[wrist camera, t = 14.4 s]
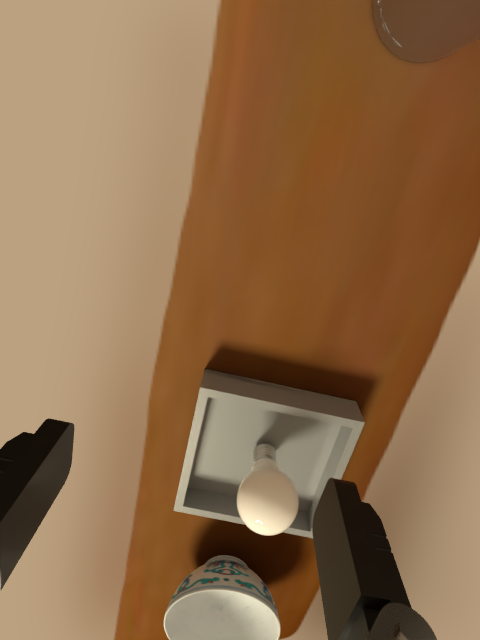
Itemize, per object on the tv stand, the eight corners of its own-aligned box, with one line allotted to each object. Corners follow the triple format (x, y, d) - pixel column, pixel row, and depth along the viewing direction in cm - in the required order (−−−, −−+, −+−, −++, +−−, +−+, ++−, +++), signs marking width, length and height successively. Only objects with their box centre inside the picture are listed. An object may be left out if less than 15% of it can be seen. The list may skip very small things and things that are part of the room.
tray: (204, 368, 45) (200, 387, 42) (356, 401, 46) (364, 422, 42) (179, 485, 52) (173, 510, 48) (311, 512, 53) (315, 538, 49)
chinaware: (159, 583, 60) (146, 641, 52) (200, 519, 54) (192, 574, 47) (248, 616, 62) (247, 676, 54) (296, 557, 56) (302, 615, 49)
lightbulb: (236, 467, 49) (234, 548, 39) (239, 425, 47) (238, 500, 36) (287, 470, 49) (298, 552, 39) (293, 428, 47) (306, 504, 37)
